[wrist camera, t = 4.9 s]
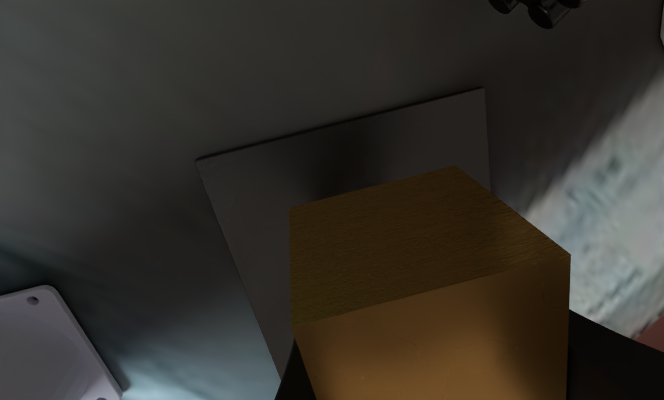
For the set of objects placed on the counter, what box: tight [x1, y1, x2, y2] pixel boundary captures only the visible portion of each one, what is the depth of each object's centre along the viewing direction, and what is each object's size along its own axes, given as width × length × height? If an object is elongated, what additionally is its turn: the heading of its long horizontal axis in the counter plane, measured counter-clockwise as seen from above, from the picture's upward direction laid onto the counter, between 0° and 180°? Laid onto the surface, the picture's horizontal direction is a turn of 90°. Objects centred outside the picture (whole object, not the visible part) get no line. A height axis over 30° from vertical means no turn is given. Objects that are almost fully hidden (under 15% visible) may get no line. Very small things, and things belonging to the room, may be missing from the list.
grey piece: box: [194, 87, 491, 381], centre depth 19 cm, size 13×20×6 cm, turn 13°
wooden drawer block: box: [289, 165, 571, 400], centre depth 11 cm, size 8×5×5 cm, turn 13°
